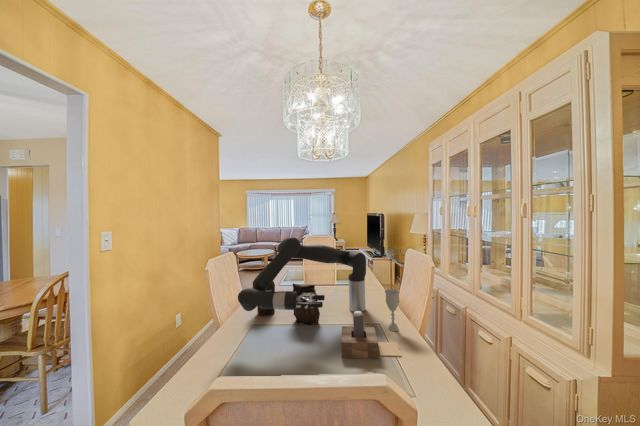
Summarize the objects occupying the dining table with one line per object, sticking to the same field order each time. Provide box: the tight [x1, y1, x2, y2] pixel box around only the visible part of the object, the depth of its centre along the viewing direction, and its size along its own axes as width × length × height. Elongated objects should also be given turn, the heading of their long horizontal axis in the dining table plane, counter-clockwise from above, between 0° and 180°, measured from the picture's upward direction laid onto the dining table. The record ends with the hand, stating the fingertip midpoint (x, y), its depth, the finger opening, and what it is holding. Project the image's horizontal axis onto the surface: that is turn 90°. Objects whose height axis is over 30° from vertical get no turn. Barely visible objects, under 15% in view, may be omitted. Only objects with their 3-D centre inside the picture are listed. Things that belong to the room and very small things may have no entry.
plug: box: [352, 311, 365, 338], centre depth 106 cm, size 4×4×15 cm
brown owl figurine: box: [292, 282, 321, 326], centre depth 135 cm, size 13×13×20 cm
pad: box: [378, 341, 402, 358], centre depth 105 cm, size 10×8×1 cm
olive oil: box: [256, 280, 276, 317], centre depth 148 cm, size 11×11×25 cm
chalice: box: [384, 288, 400, 332], centre depth 124 cm, size 7×7×18 cm
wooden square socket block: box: [340, 326, 379, 360], centre depth 107 cm, size 14×14×6 cm
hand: (323, 300), depth 108 cm, fingers open, 8 cm apart
